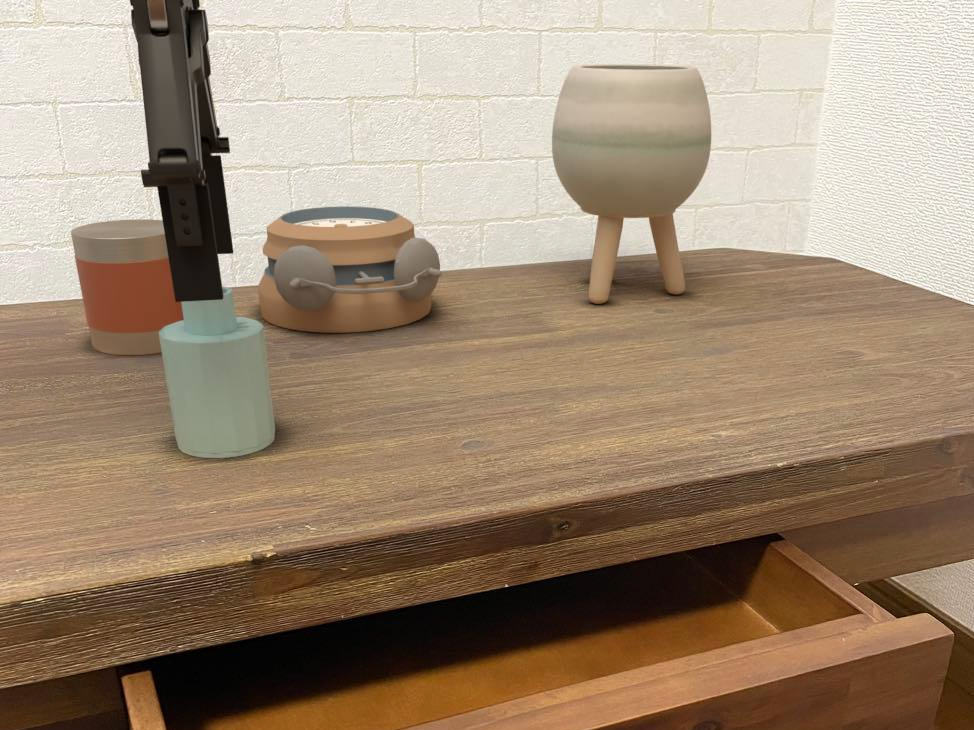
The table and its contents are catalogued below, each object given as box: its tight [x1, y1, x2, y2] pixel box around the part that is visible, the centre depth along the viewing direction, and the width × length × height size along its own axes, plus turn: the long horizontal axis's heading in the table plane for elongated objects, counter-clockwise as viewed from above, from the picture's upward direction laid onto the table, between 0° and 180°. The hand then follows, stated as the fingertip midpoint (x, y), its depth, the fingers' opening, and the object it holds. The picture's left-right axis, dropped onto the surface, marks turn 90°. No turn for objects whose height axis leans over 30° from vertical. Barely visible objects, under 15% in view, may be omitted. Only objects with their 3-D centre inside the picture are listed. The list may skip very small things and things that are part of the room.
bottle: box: [159, 285, 276, 459], centre depth 71 cm, size 7×7×10 cm
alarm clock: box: [257, 205, 442, 334], centre depth 101 cm, size 17×9×23 cm
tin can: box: [70, 218, 184, 356], centre depth 93 cm, size 9×9×10 cm
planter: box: [551, 63, 712, 305], centre depth 108 cm, size 16×16×22 cm
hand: (207, 275), depth 68 cm, fingers open, 13 cm apart
